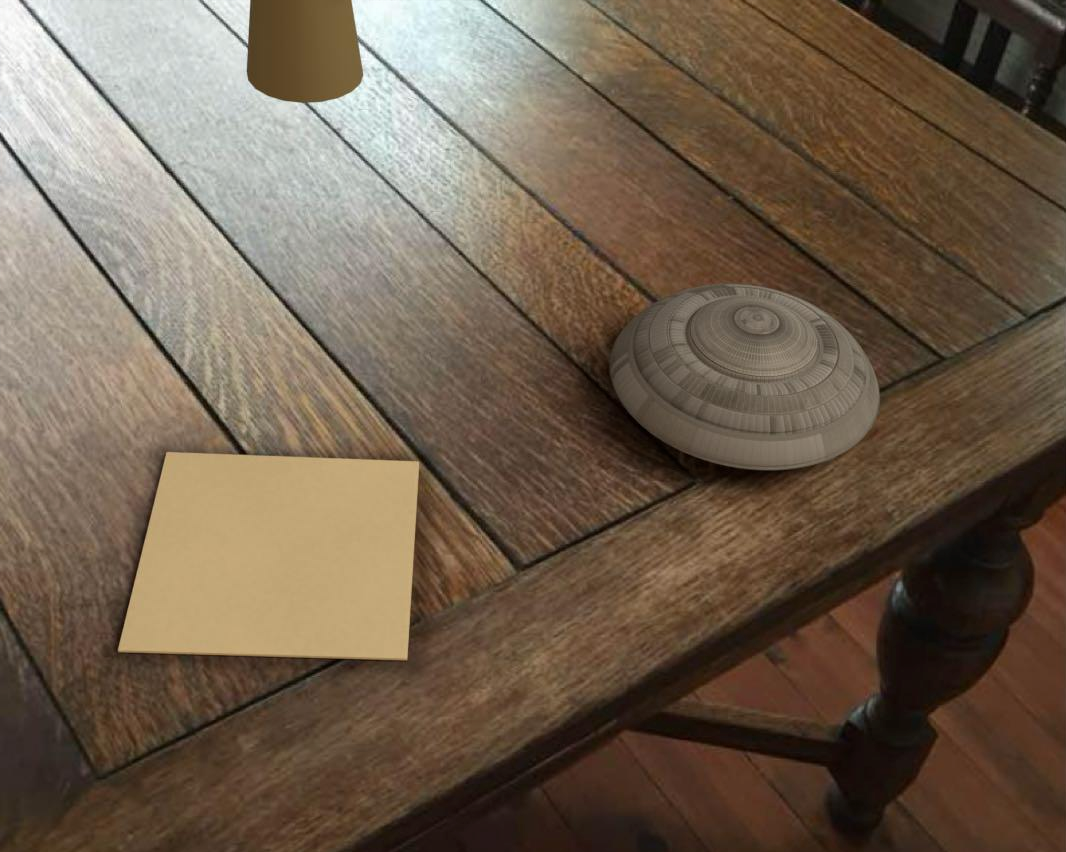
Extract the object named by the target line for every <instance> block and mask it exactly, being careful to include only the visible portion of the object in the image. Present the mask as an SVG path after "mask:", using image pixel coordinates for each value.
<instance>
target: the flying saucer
mask: <svg viewBox="0 0 1066 852" xmlns="http://www.w3.org/2000/svg"><path fill="white" fill-rule="evenodd" d="M610 351H611V352H610V356H609V374H610V379H611V383H612V386H613V388H614V389H613V390H614V391H615V393H616V396H617V397H618V399H619V401H620V402H621V404H622V405H623V407H624V408H625V409H626V411H627V412H628V414H629V415H630V416H631V417H633V419H634V420H635V421H636V422H637V423H638V424H639V425H640V426H641V427H642V428H644V429H645V430H647V432H649V433H650V434H652V435H653V436H655V437H656V438H657V439H659V440H660V441H662V442H663V443H665V444H667V445H669V446H670V447H672V448H674V449H676V450H678V451H681V452H682V453H685V454H687V455H689V456H692V457H695V458H698V459H700V460H703V461H706V462H710V463H711V464H712V463H713V464H717V465H720V466H725V467H728V468H729V467H730V468H735V469H743V470H751V471H785V470H793V469H794V470H796V469H800V468H806V467H810V466H814V465H818V464H822V463H824V462H827V461H829V460H832V459H834V458H836V457H838V456H840V455H842V454H844V453H845V452H847V451H849V450H850V449H852V448H853V447H855V446H856V445H857V444H858V443H859V442H860V441H861V440H863V438H864V437H865V436H866V435H867V434H868V433H869V431H870V430H871V429H872V427H873V425H874V423H875V421H876V418H877V416H878V412H879V409H880V402H881V401H880V397H881V393H880V386H879V382H878V379H877V376H876V372H875V370H874V367H873V365H872V363H871V361H870V359H869V358H868V356H867V354H866V352H865V351H864V350H863V348H862V347H861V345H860V344H859V343H858V341H857V340H856V339H855V337H854V336H853V335H852V334H851V333H850V332H849V330H847V329H846V328H845V327H844V325H842V324H841V323H840V322H839V321H837V320H836V319H835V318H834V317H833V316H832V315H830V314H829V313H827V312H826V311H824V310H822V309H821V308H819V307H817V306H816V305H814V304H812V303H810V302H808V301H806V300H805V299H802V298H800V297H798V296H795V295H792V294H790V293H787V292H784V291H781V290H777V289H773V288H770V287H765V286H759V285H754V284H744V283H714V284H706V285H700V286H695V287H690V288H686V289H685V290H681V291H678V292H675V293H672V294H670V295H668V296H665V297H663V298H661V299H659V300H657V301H656V302H654V303H652V304H650V305H648V306H647V307H645V309H642V311H640V312H639V313H638V314H636V315H635V316H634V317H632V319H631V320H630V321H629V322H628V323H627V324H626V325H625V326H624V327H623V328H622V330H621V331H620V332H619V334H618V336H617V337H616V339H615V341H614V343H613V346H612V348H611V350H610Z"/></svg>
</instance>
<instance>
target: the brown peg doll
mask: <svg viewBox="0 0 1066 852" xmlns="http://www.w3.org/2000/svg"><path fill="white" fill-rule="evenodd" d="M354 13H355V12H354V7H353V1H352V0H249V16H248V35H247V56H246V57H247V58H246V76H247V81H248V82H249V83H250V84H251V85H252V87H253V88H254V90H256V91H258V92H260V93H262V94H263V95H265V96H267V97H269V98H273V99H277V100H279V101H283V102H290V103H301V104H309V103H310V104H311V103H323V102H327V101H333V100H336V99H337V100H338V99H340V98H342V97H344V96H346V95H348V94H351V93H353V91H355V90H356V88H358V87H359V86H360V85H361V83H362V80H363V77H364V69H363V62H362V57H361V51H360V45H359V37H358V33H357V31H358V30H357V26H356V19H355V14H354Z"/></svg>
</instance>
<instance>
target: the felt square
mask: <svg viewBox="0 0 1066 852" xmlns="http://www.w3.org/2000/svg"><path fill="white" fill-rule="evenodd" d="M419 472H420V461H416V460H392V459H390V460H388V459H387V460H386V459H366V458H365V459H363V458H338V457H336V458H335V457H313V456H311V457H309V456H285V455H284V456H283V455H282V456H281V455H259V454H258V455H256V454H255V455H254V454H234V453H233V454H231V453H229V454H228V453H206V452H205V453H204V452H203V453H202V452H179V451H178V452H175V451H166V453H165V457H164V461H163V465H162V469H161V474H160V477H159V480H158V485H157V489H156V493H155V497H154V502H153V505H152V510H151V514H150V518H149V521H148V525H147V529H146V533H145V537H144V541H143V542H144V543H143V546H142V550H141V554H140V558H139V561H138V567H137V570H136V575H135V579H134V583H133V587H132V591H131V594H130V599H129V604H128V608H127V610H126V615H125V619H124V624H123V627H122V631H121V635H120V640H119V644H118V647H117V652H118V653H130V654H131V653H133V654H164V655H165V654H166V655H167V654H169V655H202V656H203V655H204V656H205V655H206V656H235V657H238V656H239V657H241V656H242V657H268V658H269V657H271V658H272V657H273V658H306V659H307V658H311V659H337V660H338V659H340V660H341V659H342V660H343V659H344V660H372V661H373V660H374V661H377V660H378V661H379V660H380V661H408V657H409V656H408V653H409V638H410V637H409V636H410V624H411V623H410V622H411V604H412V590H413V573H414V557H415V542H416V541H415V540H416V524H417V508H418V507H417V506H418V490H419V488H418V487H419V475H420V473H419Z"/></svg>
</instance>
